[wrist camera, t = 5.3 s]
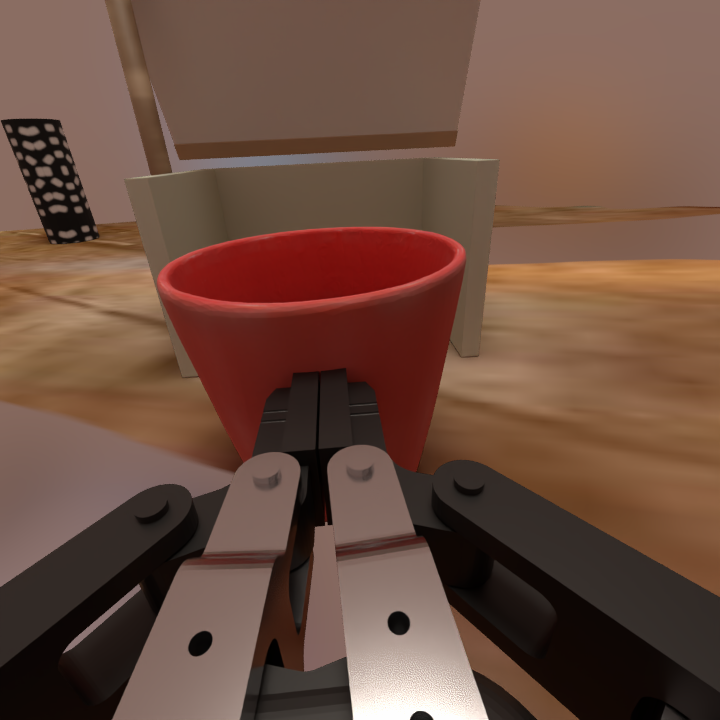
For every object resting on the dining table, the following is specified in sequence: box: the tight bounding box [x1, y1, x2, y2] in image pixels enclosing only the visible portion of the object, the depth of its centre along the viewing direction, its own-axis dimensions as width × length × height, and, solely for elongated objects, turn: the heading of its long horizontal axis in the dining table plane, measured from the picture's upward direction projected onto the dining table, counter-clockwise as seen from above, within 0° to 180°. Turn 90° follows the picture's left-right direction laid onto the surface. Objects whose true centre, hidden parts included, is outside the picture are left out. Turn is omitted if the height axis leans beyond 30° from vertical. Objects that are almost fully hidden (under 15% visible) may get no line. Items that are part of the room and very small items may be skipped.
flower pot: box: [157, 227, 466, 522], centre depth 16 cm, size 11×11×10 cm
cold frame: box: [124, 157, 499, 377], centre depth 30 cm, size 20×15×12 cm
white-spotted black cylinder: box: [1, 119, 99, 244], centre depth 73 cm, size 8×8×20 cm
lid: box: [131, 0, 480, 160], centre depth 27 cm, size 23×15×1 cm
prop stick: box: [105, 0, 172, 176], centre depth 28 cm, size 1×1×24 cm
